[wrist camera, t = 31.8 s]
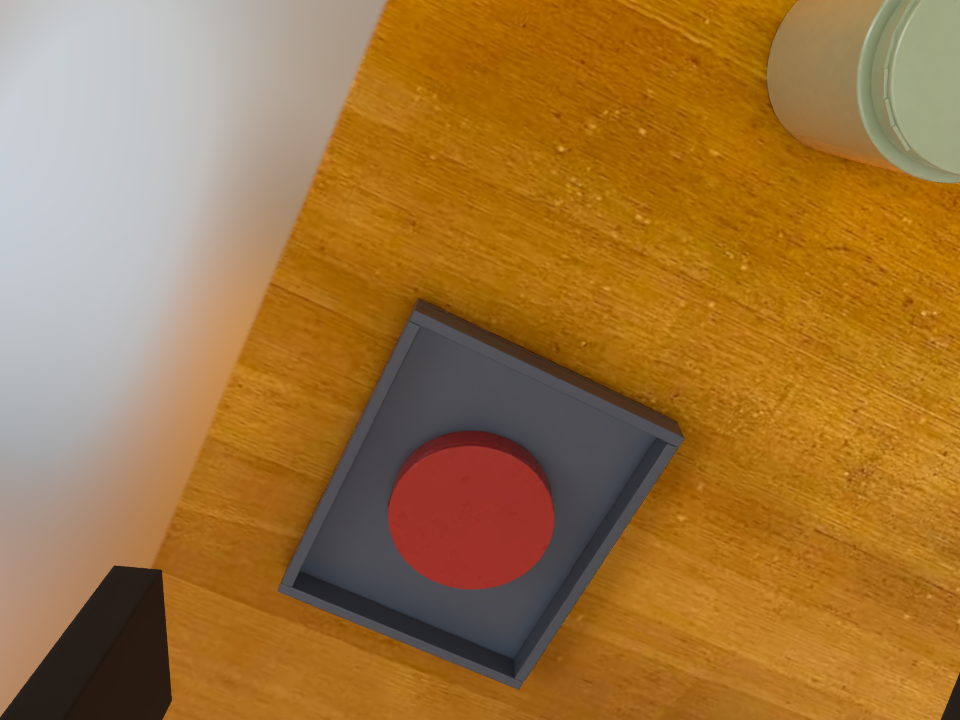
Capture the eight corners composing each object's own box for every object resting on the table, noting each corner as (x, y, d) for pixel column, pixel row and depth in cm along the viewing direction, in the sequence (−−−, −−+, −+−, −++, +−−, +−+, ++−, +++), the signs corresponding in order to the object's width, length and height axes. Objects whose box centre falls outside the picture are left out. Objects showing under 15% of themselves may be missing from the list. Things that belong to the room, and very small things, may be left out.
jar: (889, -76, 31) (1067, -138, 22) (977, 76, 33) (1176, 82, 23) (732, 51, 33) (830, 46, 23) (824, 188, 35) (950, 237, 25)
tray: (418, 297, 37) (414, 309, 35) (676, 421, 39) (685, 438, 37) (286, 569, 43) (276, 591, 41) (517, 665, 45) (518, 690, 43)
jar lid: (386, 562, 42) (381, 581, 40) (395, 422, 39) (391, 437, 37) (541, 576, 42) (543, 597, 41) (562, 438, 39) (565, 454, 38)
